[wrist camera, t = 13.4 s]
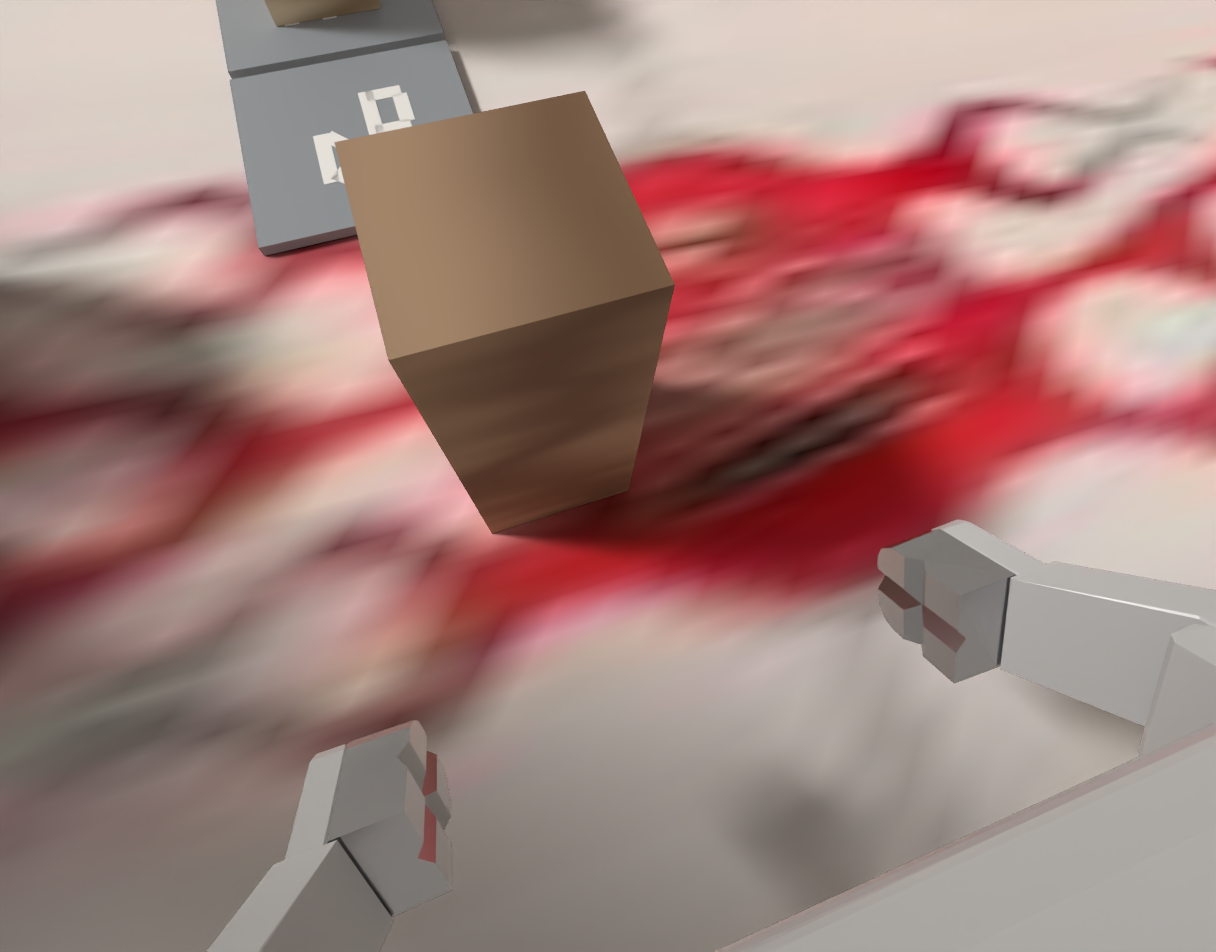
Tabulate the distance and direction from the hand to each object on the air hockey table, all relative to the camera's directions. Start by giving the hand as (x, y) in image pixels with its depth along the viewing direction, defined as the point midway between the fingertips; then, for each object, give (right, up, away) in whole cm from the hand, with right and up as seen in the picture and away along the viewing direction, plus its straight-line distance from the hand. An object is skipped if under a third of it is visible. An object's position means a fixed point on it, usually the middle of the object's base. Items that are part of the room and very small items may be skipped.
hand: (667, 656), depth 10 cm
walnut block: (-3, +4, +9) cm, 11 cm away
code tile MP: (-14, +25, +17) cm, 33 cm away
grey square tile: (-11, +16, +14) cm, 24 cm away
